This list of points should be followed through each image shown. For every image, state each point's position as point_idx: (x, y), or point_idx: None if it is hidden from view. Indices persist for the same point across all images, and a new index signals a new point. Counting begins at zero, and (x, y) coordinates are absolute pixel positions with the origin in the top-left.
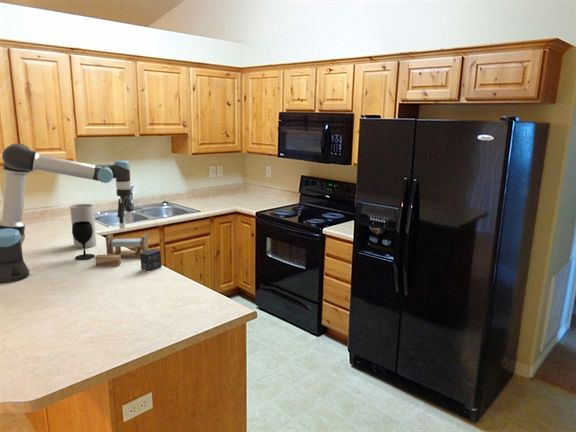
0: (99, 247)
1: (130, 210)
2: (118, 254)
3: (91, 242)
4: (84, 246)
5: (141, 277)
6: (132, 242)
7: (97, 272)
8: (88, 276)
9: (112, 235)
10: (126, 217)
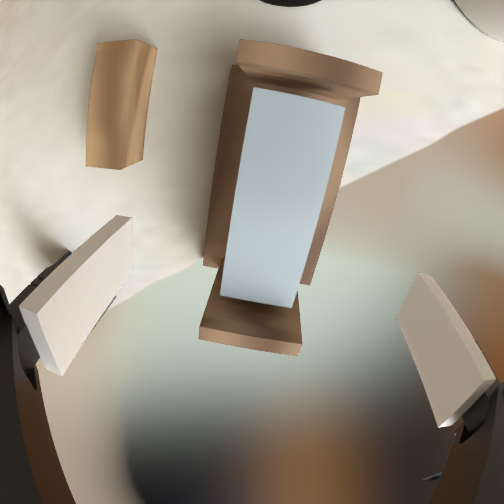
0: (453, 40)
1: (455, 439)
2: (120, 157)
3: (473, 7)
4: None
5: (23, 253)
6: (227, 245)
7: (52, 90)
8: (27, 77)
9: (365, 92)
10: (445, 318)
